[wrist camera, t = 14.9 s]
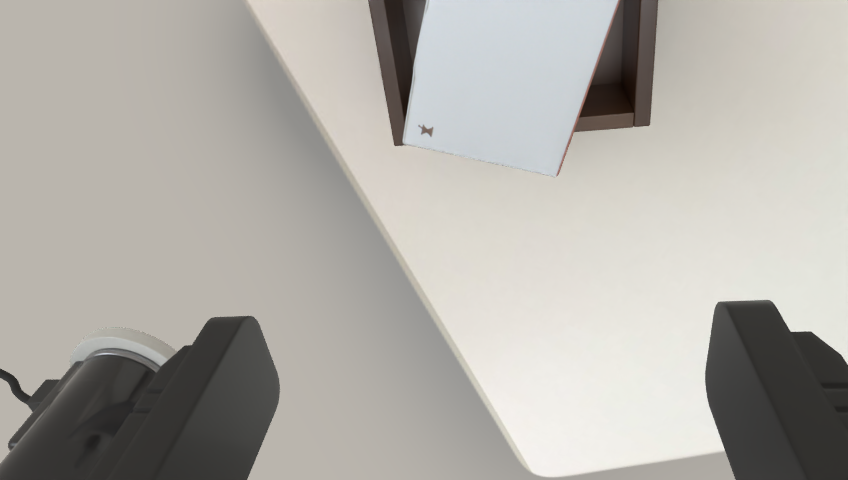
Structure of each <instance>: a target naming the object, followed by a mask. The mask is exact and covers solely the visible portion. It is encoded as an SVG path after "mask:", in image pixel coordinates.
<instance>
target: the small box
mask: <svg viewBox="0 0 848 480" xmlns="http://www.w3.org/2000/svg"><path fill="white" fill-rule="evenodd" d="M619 2H620V0H426V5H425V10H424V15H423V20H422V25H421V30H420V35H419V39H418V44H417V50H416V56H415V61H414V67H413V78H412V85H411V91H410V97H409V103H408V109H407V115H406V121H405V127H404V134H403V141H402V142H403V144H404V145H410V146H415V147H420V148H425V149H430V150H435V151H439V152H443V153H448V154H452V155H457V156H462V157H466V158H470V159H475V160H479V161H484V162H489V163H494V164H498V165H503V166H508V167H512V168H516V169H521V170H525V171H530V172H535V173H540V174H544V175H548V176H553V177H556V176H558V174H559V172H560V169H561V166H562V164H563V161H564V158H565V155H566V152H567V150H568V147H569V144H570V141H571V138H572V136H573V133H574V130H575V127H576V124H577V122H578V119H579V116H580V113H581V110H582V107H583V104H584V102H585V99H586V96H587V93H588V90H589V87H590V84H591V82H592V79H593V76H594V73H595V71H596V68H597V65H598V62H599V59H600V56H601V54H602V51H603V48H604V45H605V42H606V39H607V36H608V33H609V31H610V28H611V25H612V22H613V19H614V16H615V13H616V11H617V8H618V5H619Z"/></svg>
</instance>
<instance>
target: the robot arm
mask: <svg viewBox="0 0 848 480" xmlns="http://www.w3.org/2000/svg"><path fill="white" fill-rule="evenodd" d="M0 378H2V379H3V380H5V381H7V382H8V383H9V385H10V387H11V390H12V392H13V394H14V395H15V396H16V397H17V398H18V399H19V400H21V401H22V402H24V403H26V404H27V405H28V406H29V407H30V409H31V410H32V412H33V413H32V414H31V415H30V417H29V418H28V419H27V420H26V421H25V423H24V424H23V425H22V426H21V427H20V428H19V430H18V431H17V432H16V433H15V434H14V436H13V437H12V438H11V439H10V441H9V443H8V448H9V450H10V453H9V454H8V455H7V456H6V457H5V459H4V460H3V461H2V462H1V464H0V480H247V478H248V476H249V474H250V471H251V469H252V466H253V464H254V461H255V459H256V456H257V454H258V452H259V449H260V447H261V445H262V442H263V440H264V437H265V435H266V433H267V430H268V428H269V425H270V423H271V421H272V418H273V416H274V413H275V411H276V408H277V405H278V401H279V392H280V391H279V390H280V385H279V378H278V374H277V371H276V368H275V366H274V363H273V360H272V358H271V355H270V352H269V350H268V347H267V344H266V342H265V339H264V336H263V333H262V331H261V328H260V325H259V323H258V321H257V320H256V319H255V318H254V317H252V316H238V317H214V318H211V319H210V320H209V321H207V323H206V324H205V326H204V327H203V329H202V330H201V332H200V333H199V335H198V337H197V338H196V340H195V342H194V343H193V345H190V346H184V347H183V348H182V349H180V350H179V351H178V352H177V353H176V354H175V355H173V356H172V357H171V358H170V359H169V360H168V361H166V362H165V363H164V364H163V365H162V366H161V367H160V366H159V365H158V364H157V363H155V362H154V361H152V360H150V359H149V358H147V357H145V356H143V355H140V354H138V353H135V352H132V351H129V350H125V349H118V348H105V349H100V350H97V351H94V352H92V353H91V354H89V355H88V356H87V357H86V358H85V360H84V361H76V362H75V363H74V364H73V365H72V367H71V368H70V369H69V370H68V371H67V372H66V374H65V375H64V376H63V377H62V378H61V380H45V382H44V383H43V384H42V385H41V386H40V387H39V388H38V390H37V391H36V392H35V393H34V394H33V395H32V396H29V395H27V394H26V393H24V392H23V391H22V390H21V388H20V385H19V382H18V381H17V379H16V378H15V377H14V376H13V375H11V374H10V373H8V372H6V371H4V370H2V369H0ZM705 382H706V392H707V398H708V402H709V406H710V409H711V412H712V415H713V418H714V420H715V423H716V426H717V429H718V432H719V434H720V437H721V440H722V443H723V446H724V448H725V451H726V454H727V457H728V460H729V462H730V465H731V468H732V471H733V474H734V476H735V479H736V480H848V365H847V363H846V362H845V360H844V359H843V357H842V356H841V354H839V353H838V352H837V351H835V350H834V349H833V348H831V347H830V346H829V345H828V344H826V343H825V342H824V341H822V340H821V339H820V338H818V337H817V336H816V335H815V334H813V333H812V332H790V330H789V328H788V327H787V325H786V323H785V322H784V320H783V318H782V316H781V315H780V313H779V311H778V309H777V308H776V306H775V305H774V304H773V302H771V301H770V300H755V301H726V302H718V303H717V305H716V307H715V310H714V316H713V323H712V330H711V337H710V343H709V350H708V357H707V363H706V371H705Z"/></svg>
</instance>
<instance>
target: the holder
mask: <svg viewBox="0 0 848 480" xmlns="http://www.w3.org/2000/svg"><path fill="white" fill-rule="evenodd" d="M368 2H369V7H370V13H371V18H372V24H373V29H374V35H375V40H376V46H377V52H378V57H379V63H380V68H381V74H382V79H383V85H384V90H385V96H386V101H387V107H388V113H389V118H390V124H391V129H392V135H393V140H394V145H395V146H402V145H404V144H403V142H402V141H403V134H404V127H405V121H406V115H407V109H408V103H409V97H410V91H411V85H412V78H413V67H414V61H415V56H416V50H417V44H418V39H419V35H420V30H421V25H422V20H423V15H424V10H425V5H426V0H368ZM657 10H658V0H620V2H619V5H618V8H617V11H616V13H615V16H614V19H613V22H612V25H611V28H610V31H609V33H608V36H607V39H606V42H605V45H604V48H603V51H602V54H601V56H600V59H599V62H598V65H597V68H596V71H595V73H594V76H593V79H592V82H591V84H590V87H589V90H588V93H587V96H586V99H585V102H584V104H583V107H582V110H581V113H580V116H579V119H578V122H577V124H576V127H575V130H574V132H580V131H592V130H605V129H617V128H630V127H633V126H634V127H639V126H649V125H650V117H651V101H652V86H653V71H654V56H655V41H656V25H657Z"/></svg>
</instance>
